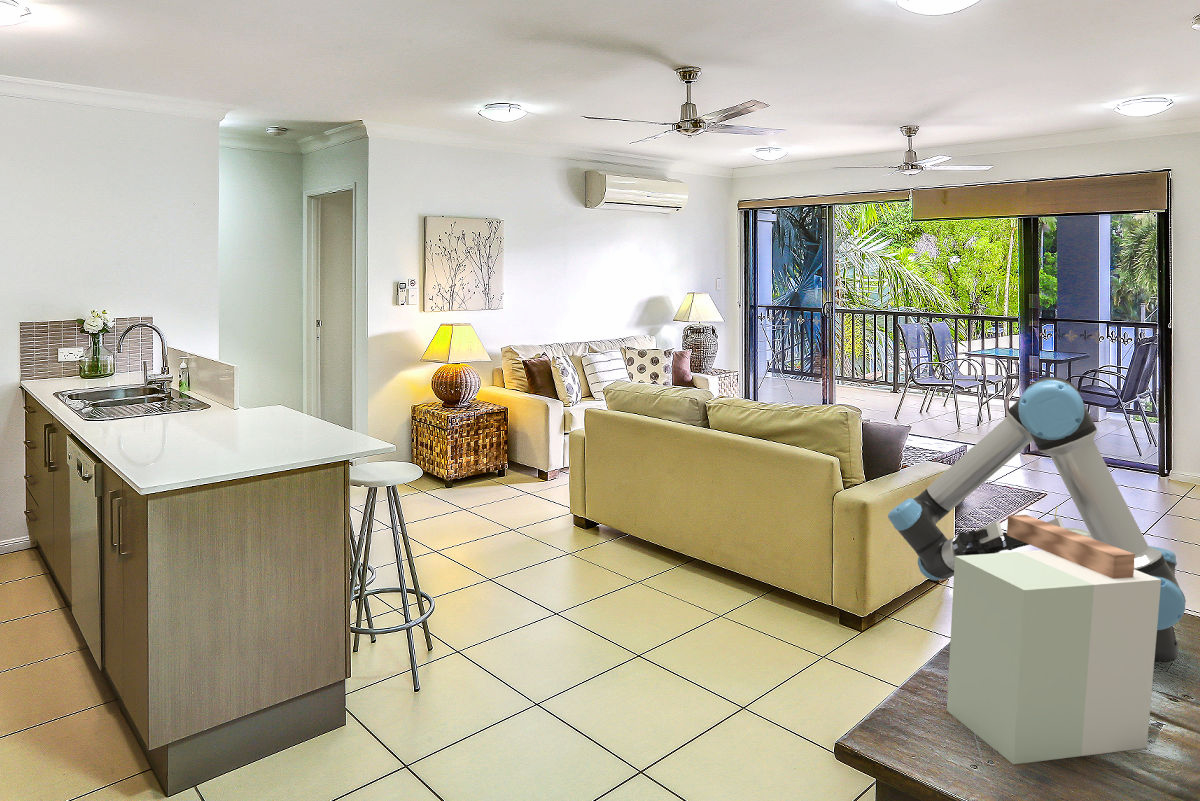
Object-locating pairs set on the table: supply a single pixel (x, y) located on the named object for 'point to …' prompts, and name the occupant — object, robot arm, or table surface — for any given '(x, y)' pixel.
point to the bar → (1072, 546)
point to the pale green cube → (1051, 655)
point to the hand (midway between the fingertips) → (1030, 526)
